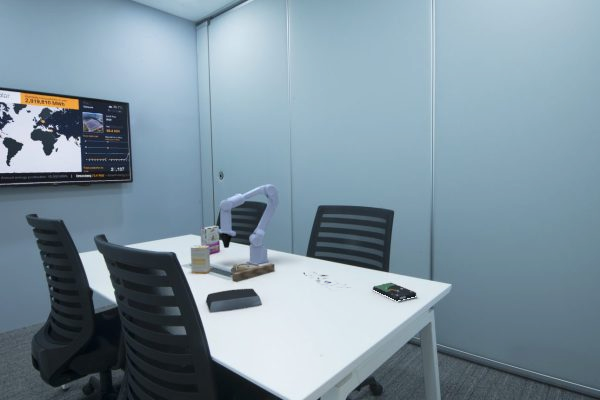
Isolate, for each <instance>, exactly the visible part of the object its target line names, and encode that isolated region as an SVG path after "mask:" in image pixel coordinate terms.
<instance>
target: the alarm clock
mask: <svg viewBox="0 0 600 400" xmlns="http://www.w3.org/2000/svg"><path fill="white" fill-rule="evenodd" d="M259 266H260V265H259V264H251V263H240V264H237V263H235V264H233V265H232V267H231V268H230V272H231V273H236V272H240V271H244V270H248V269H251V268H255V267H259Z"/></svg>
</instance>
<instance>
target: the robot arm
mask: <svg viewBox="0 0 600 400" xmlns="http://www.w3.org/2000/svg"><path fill="white" fill-rule="evenodd" d="M259 195H264V196H265V197H266V199H267V201H268V204H267V206H266V208H265V210H264V211H263V213H262V216H261V218H260V220H259V222H258V225H257V226H256V228H255V229H254V231H253V233H251V234H249V235H250V236H249V238H248V239H249V243H250V245H249V260H247V261H246V263H247V264H256V265H259V264H263V263H264V264H265V263H267V262H268V263H269V260H268V249H267V246H266V245H264V238H265V235H266V234H265V233H266V231H267V228H268V226H269V225H270V223H271V220H272V218H273V216H274V214H275V212H276V209H277V208H278V206H279V191H278V188H277V187H276V185H274V184H270V183H266V184H264V185H260V186H257V187H256V188H253V189H251V190H249V191H247V192H245V193H243V194H241V193H235V194H234V195H233V196H230V197H227V198H226V199H224V200H221V201H220V203H219V208H220V215H219V216H220V217H219V218H220V220H219V221H220V222H219V223H220V228H219V229H217V233H219V238H220V239H221V241H222V245H223V248H225V249H228V248H230V244H231V241H232V238H233V237H235V236H236V235H237V232H236V231H234V230H232V209H234V208H236V207H239V206H241V205H243V204H245V201H246V200H249V199H251V198H253V197H255V196H259Z"/></svg>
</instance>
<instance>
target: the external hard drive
mask: <svg viewBox="0 0 600 400" xmlns="http://www.w3.org/2000/svg"><path fill="white" fill-rule="evenodd" d="M205 302H206V305H207V309H208V311H209V313H211V314H212V313H220V312H229V311H235V310H236V311H237V310H243V309H248V308H255V307H259V306H262V304H263V303H262V301H261V298H260V295H259V294H258V293H257V292H256V290H254V288H240V289H239V288H237V289H230V290H229V289H227V290H222V291H217V292H212V293H211V292H210V293H208V295H207V296H206V300H205Z"/></svg>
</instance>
